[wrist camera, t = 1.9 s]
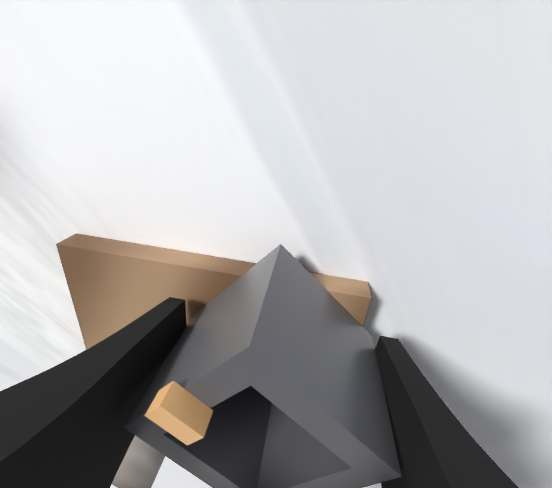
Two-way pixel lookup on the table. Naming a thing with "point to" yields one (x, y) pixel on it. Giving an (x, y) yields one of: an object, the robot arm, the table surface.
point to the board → (149, 293)
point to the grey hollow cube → (272, 389)
